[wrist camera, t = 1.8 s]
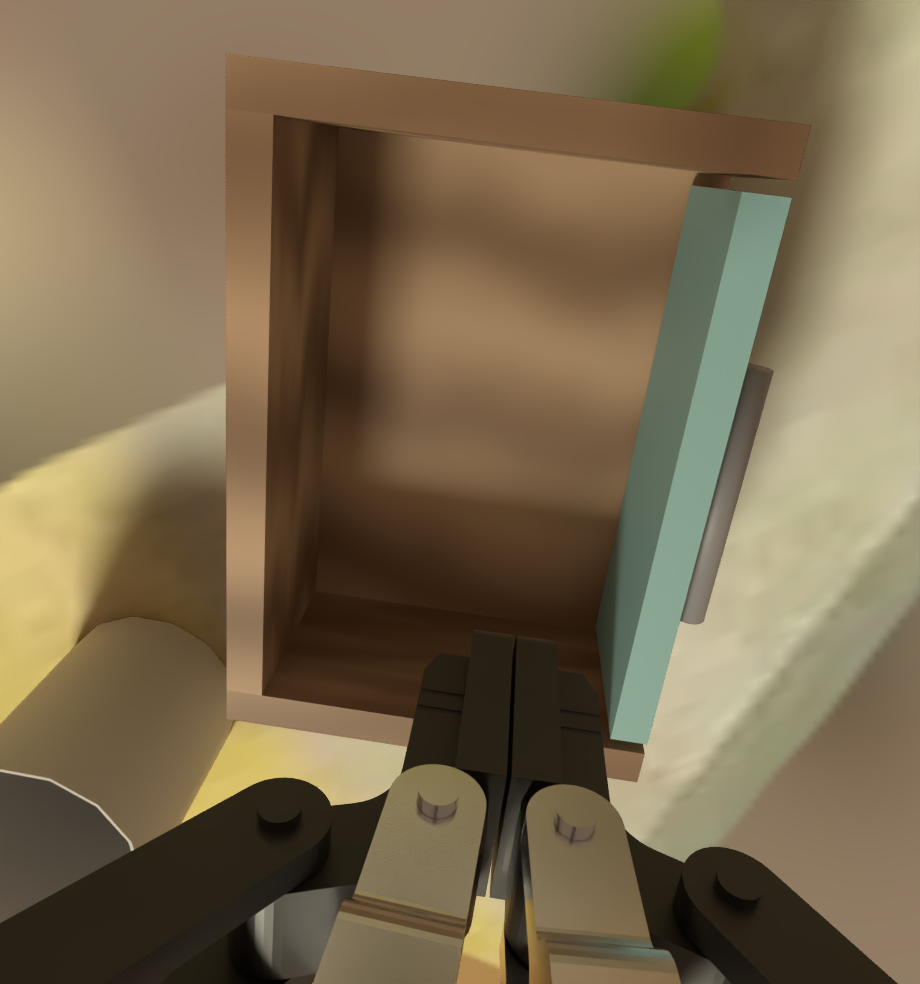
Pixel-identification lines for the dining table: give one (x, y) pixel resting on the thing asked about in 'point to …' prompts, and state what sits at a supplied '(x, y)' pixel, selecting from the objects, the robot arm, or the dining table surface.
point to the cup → (105, 754)
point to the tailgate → (688, 447)
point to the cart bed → (438, 371)
